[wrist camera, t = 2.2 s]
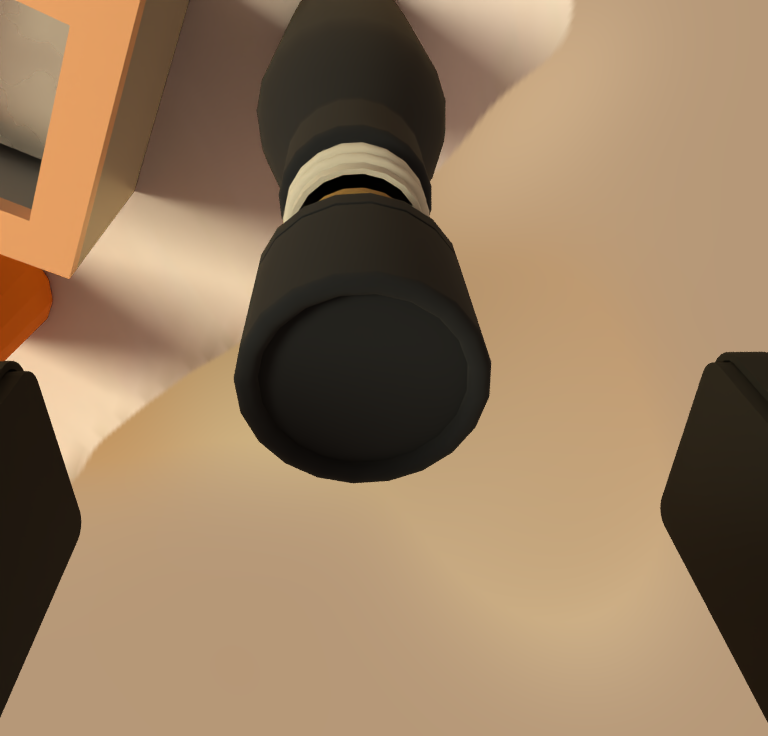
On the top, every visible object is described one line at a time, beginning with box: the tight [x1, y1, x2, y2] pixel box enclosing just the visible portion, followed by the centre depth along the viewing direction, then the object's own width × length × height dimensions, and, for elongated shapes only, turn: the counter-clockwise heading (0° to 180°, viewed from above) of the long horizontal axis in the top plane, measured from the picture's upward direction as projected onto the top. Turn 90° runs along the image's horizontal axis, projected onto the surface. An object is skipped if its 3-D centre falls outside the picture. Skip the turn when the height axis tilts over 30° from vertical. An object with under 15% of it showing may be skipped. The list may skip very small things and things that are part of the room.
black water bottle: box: [234, 0, 491, 483], centre depth 22 cm, size 6×6×30 cm
